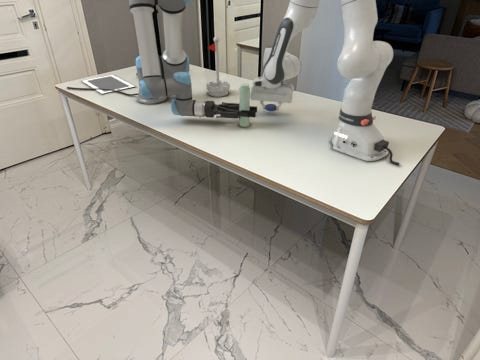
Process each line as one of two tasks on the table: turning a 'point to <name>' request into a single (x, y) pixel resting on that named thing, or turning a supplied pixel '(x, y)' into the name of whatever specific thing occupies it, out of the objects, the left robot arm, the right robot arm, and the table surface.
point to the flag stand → (217, 76)
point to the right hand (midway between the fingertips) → (270, 109)
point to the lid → (270, 107)
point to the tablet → (108, 84)
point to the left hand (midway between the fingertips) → (256, 111)
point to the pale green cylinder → (244, 103)
